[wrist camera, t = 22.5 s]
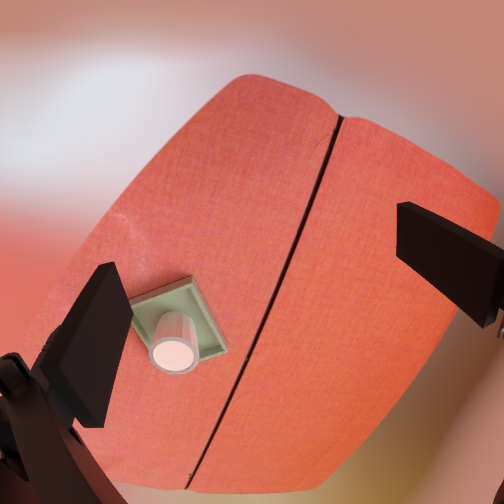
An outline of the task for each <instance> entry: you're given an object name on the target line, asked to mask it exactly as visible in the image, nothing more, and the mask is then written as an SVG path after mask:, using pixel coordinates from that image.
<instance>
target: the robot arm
mask: <svg viewBox="0 0 504 504" xmlns="http://www.w3.org/2000/svg"><path fill="white" fill-rule="evenodd" d="M396 256H397V257H398V258H399V259H401V260H402V261H403V262H404V263H406V264H407V265H408V266H410V267H411V268H412V269H413V270H415V271H416V272H417V273H418V274H420V275H421V276H422V277H423V278H425V279H426V280H427V281H428V282H429V283H431V284H432V285H433V286H434V287H435V288H437V289H438V290H439V291H440V292H441V293H443V294H444V295H445V296H446V297H447V298H449V299H450V300H451V301H452V302H453V303H454V304H456V305H457V306H458V307H459V308H460V309H461V310H463V311H464V312H465V313H466V314H467V315H468V316H469V317H470V318H472V319H473V320H474V321H475V322H476V323H477V324H478V325H479V326H481V328H484V327H487V326H488V325H490V324H492V323H494V322H495V320H496V317H497V313H498V310H499V308H501V309H502V310H503V311H504V250H503V249H501V248H499V247H498V246H496V245H494V244H492V243H491V242H489V241H487V240H485V239H483V238H482V237H480V236H478V235H476V234H474V233H472V232H470V231H469V230H467V229H465V228H463V227H461V226H459V225H457V224H455V223H453V222H451V221H449V220H447V219H445V218H443V217H441V216H439V215H437V214H435V213H433V212H431V211H429V210H427V209H425V208H422V207H420V206H418V205H416V204H414V203H412V202H403V203H398V204H397V245H396ZM133 315H134V313H133V310H132V308H131V305H130V303H129V300H128V298H127V295H126V293H125V290H124V288H123V285H122V282H121V280H120V277H119V274H118V271H117V269H116V266H115V263H114V262H109V263H105V264H101V265H99V266H98V267H97V269H96V270H95V272H94V273H93V275H92V276H91V278H90V279H89V281H88V282H87V284H86V285H85V287H84V288H83V290H82V292H81V293H80V295H79V296H78V298H77V299H76V301H75V303H74V304H73V306H72V308H71V309H70V311H69V312H68V314H67V316H66V317H65V319H64V321H63V323H62V324H61V325H59V326H58V327H57V328H56V329H55V330H54V331H53V332H52V333H51V334H50V336H49V338H48V340H47V341H46V345H44V347H43V348H42V350H41V351H42V352H40V354H39V356H38V357H37V359H36V361H35V363H34V365H33V367H32V369H31V370H29V368H28V367H27V365H26V364H25V362H24V361H23V359H22V357H21V356H20V355H19V353H15V352H13V353H8V354H6V355H4V356H2V357H1V358H0V393H1V394H2V395H3V396H1V397H0V453H1V455H0V456H1V457H0V504H128V503H127V502H126V501H125V500H124V499H123V497H122V496H121V495H120V493H119V492H118V491H117V489H116V488H115V487H114V486H113V484H112V483H111V482H110V480H109V479H108V477H107V476H106V475H105V473H104V472H103V471H102V469H101V468H100V466H99V465H98V463H97V462H96V460H95V459H94V457H93V456H92V454H91V453H90V451H89V450H88V448H87V447H86V445H85V443H84V442H83V440H82V439H81V437H80V435H79V434H78V432H77V431H76V430H75V429H74V427H73V426H72V424H73V421H74V418H76V419H77V420H78V421H79V422H80V424H81V425H82V426H83V427H84V428H104V423H105V418H106V414H107V410H108V405H109V401H110V397H111V393H112V389H113V385H114V381H115V377H116V374H117V370H118V366H119V362H120V359H121V355H122V352H123V348H124V345H125V341H126V338H127V335H128V331H129V328H130V325H131V321H132V318H133ZM503 331H504V315H503V319H502V322H501V325H500V328H499V331H498V334H497V337H498V338H499V337H500V334H501V333H502V332H503ZM503 338H504V335H503ZM493 504H504V480H503V482H502V484H501V486H500V487H499V489H498V491H497V494H496V496H495V498H494V501H493Z"/></svg>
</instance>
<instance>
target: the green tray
mask: <svg viewBox="0 0 504 504" xmlns="http://www.w3.org/2000/svg"><path fill="white" fill-rule="evenodd" d="M129 303H130V305H131V308H132V310H133V313H134V315H133V318H132V321H131V325H132V326H133V328H134V329H135V331H136V332H137V334H138V335H139V337H140V338H141V340H142V341H143V343H144V344H145V346H146V347H147V348H148V350H149V347H150V344H151V341H152V338H153V335H154V333H155V330H156V327H157V324H158V321H159V319H160V318H161V317H162V315H164V314H165V313H167V312H170V311H180V312H184V313H186V314H187V315H189V316H190V317H191V318H192V319H193V321H194V324H195V328H196V335H197V342H198V349H199V356H200V357H199V362H200V361H203V360H206V359H209V358H212V357H215V356H218V355H221V354H224V353H227V352H228V344H227V342H226V340H225V338H224V336H223V334H222V332H221V330H220V328H219V327H218V325H217V323H216V321H215V319H214V317H213V315H212V313H211V311H210V309H209V307H208V305H207V303H206V302H205V300H204V298H203V296H202V294H201V292H200V290H199V288H198V286H197V284H196V282H195V280H194V278H193V276H189V277H187V278H184V279H182V280H179V281H176V282H174V283H171V284H169V285H166V286H163V287H161V288H158V289H155V290H153V291H150V292H148V293H145V294H142V295H140V296H137V297H135V298H132V299H129Z"/></svg>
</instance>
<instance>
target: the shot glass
mask: <svg viewBox="0 0 504 504" xmlns="http://www.w3.org/2000/svg"><path fill="white" fill-rule="evenodd" d="M148 356H149V358H150V361H151V363H152V364H153V365H154V366H155V367H156V368H157V369H159V370H161V371H163V372H165V373H169V374H184V373H187V372H189V371H191V370H193V369H194V368H195V367H196V366H197V364H198V362H199V357H200V356H199V349H198V342H197V335H196V328H195V324H194V321H193V319H192V318H191V317H190V316H189V315H187V314H186V313H184V312H180V311H170V312H167V313H165V314H164V315H162V317H161V318H160V319H159V321H158V324H157V327H156V330H155V333H154V335H153V338H152V341H151V344H150V347H149V354H148Z"/></svg>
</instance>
